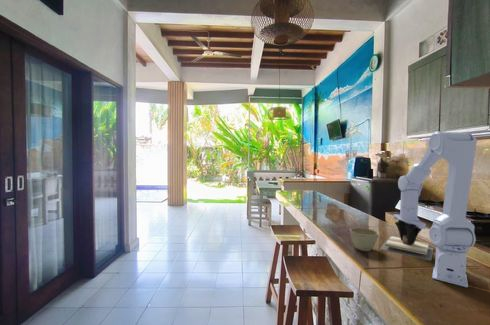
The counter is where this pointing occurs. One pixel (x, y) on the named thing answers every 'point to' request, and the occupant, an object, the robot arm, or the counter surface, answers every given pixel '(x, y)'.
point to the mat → (409, 252)
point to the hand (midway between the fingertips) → (407, 241)
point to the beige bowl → (363, 238)
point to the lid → (407, 245)
